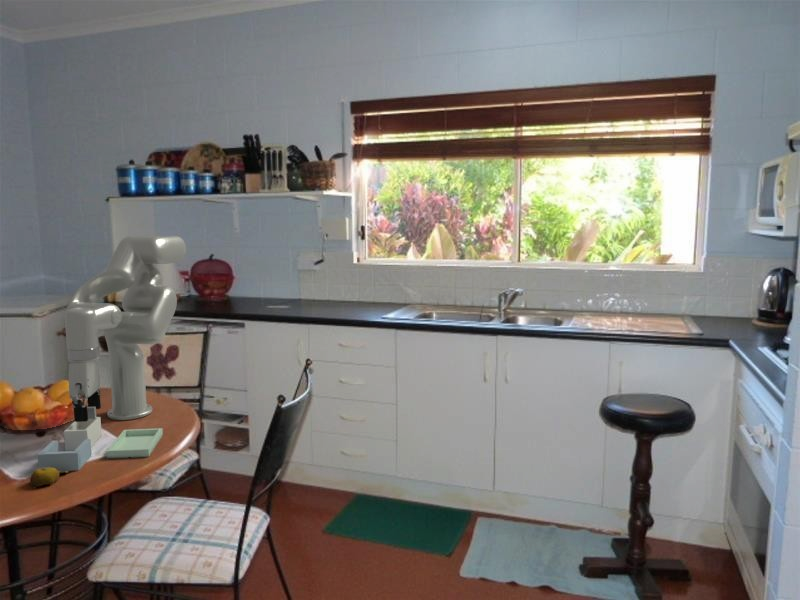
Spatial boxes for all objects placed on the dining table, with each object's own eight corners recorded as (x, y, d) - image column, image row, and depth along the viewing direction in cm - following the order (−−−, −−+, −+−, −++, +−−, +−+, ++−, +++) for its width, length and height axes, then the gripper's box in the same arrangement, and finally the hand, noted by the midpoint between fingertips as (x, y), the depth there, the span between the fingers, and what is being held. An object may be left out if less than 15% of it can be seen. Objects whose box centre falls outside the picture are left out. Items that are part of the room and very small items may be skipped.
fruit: (69, 471, 147) (68, 457, 147) (62, 486, 139) (61, 471, 139) (30, 475, 145) (29, 461, 144) (21, 491, 137) (19, 476, 136)
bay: (54, 457, 154) (52, 440, 154) (91, 455, 156) (90, 439, 155) (39, 472, 146) (37, 454, 145) (79, 470, 147) (77, 452, 146)
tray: (124, 436, 168) (124, 429, 168) (162, 435, 170) (162, 428, 169) (106, 458, 154) (106, 451, 154) (148, 456, 155) (148, 449, 155)
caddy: (80, 438, 167) (77, 407, 166) (101, 437, 168) (99, 406, 166) (65, 453, 157) (62, 420, 156) (88, 452, 158) (86, 419, 157)
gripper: (80, 346, 171) (85, 405, 174) (55, 362, 154) (60, 427, 157) (108, 346, 172) (113, 404, 175) (86, 361, 155) (91, 425, 158)
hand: (88, 414), depth 166 cm, fingers open, 9 cm apart
